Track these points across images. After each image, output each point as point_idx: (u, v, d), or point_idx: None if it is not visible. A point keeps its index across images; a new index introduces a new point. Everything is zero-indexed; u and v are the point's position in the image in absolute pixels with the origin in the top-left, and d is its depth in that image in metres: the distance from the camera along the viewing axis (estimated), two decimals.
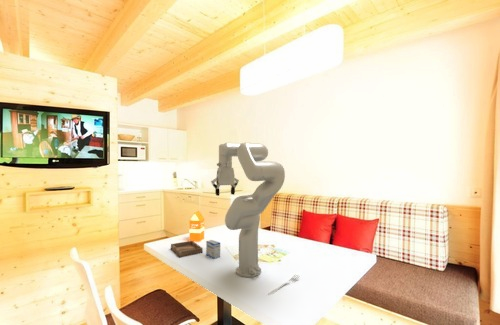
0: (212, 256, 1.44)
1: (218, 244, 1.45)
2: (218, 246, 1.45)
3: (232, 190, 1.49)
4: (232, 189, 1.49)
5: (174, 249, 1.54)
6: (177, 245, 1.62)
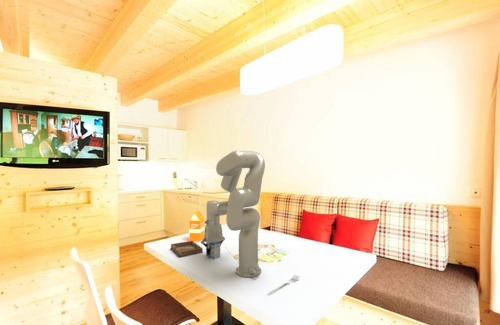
0: (212, 256, 1.44)
1: (218, 244, 1.45)
2: (218, 246, 1.45)
3: None
4: None
5: (174, 249, 1.54)
6: (177, 245, 1.62)
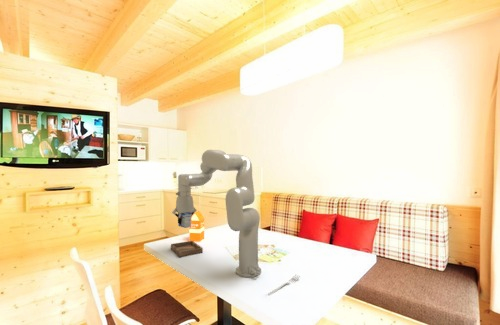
0: (183, 225, 1.54)
1: (189, 214, 1.54)
2: (189, 216, 1.54)
3: None
4: None
5: (174, 249, 1.54)
6: (177, 245, 1.62)
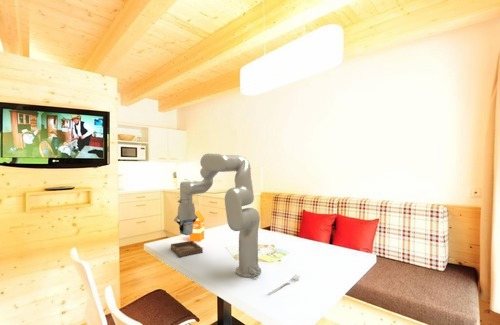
0: (185, 233, 1.54)
1: (190, 222, 1.55)
2: (190, 223, 1.55)
3: None
4: None
5: (174, 249, 1.54)
6: (177, 245, 1.62)
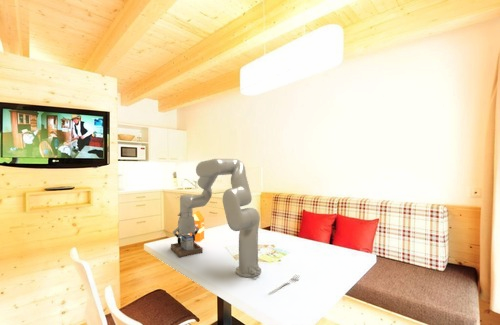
0: (185, 249, 1.54)
1: (191, 238, 1.55)
2: (191, 240, 1.55)
3: None
4: None
5: (174, 249, 1.54)
6: (177, 245, 1.62)
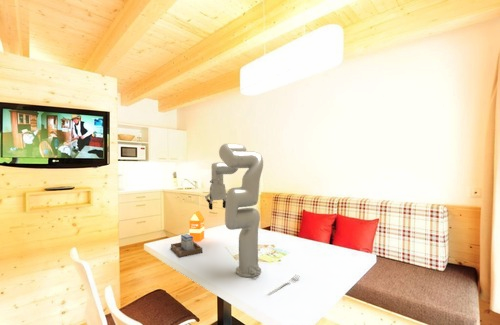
0: (185, 249, 1.54)
1: (191, 238, 1.55)
2: (191, 240, 1.55)
3: (224, 204, 1.66)
4: (224, 203, 1.66)
5: (174, 249, 1.54)
6: (177, 245, 1.62)
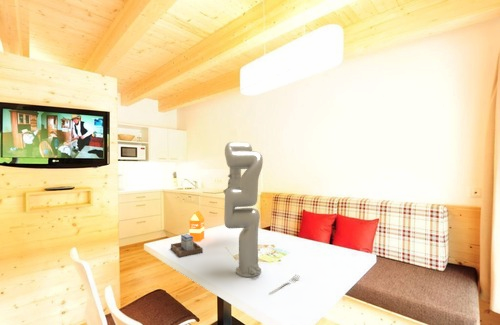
0: (185, 249, 1.54)
1: (191, 238, 1.55)
2: (191, 240, 1.55)
3: None
4: None
5: (174, 249, 1.54)
6: (177, 245, 1.62)
